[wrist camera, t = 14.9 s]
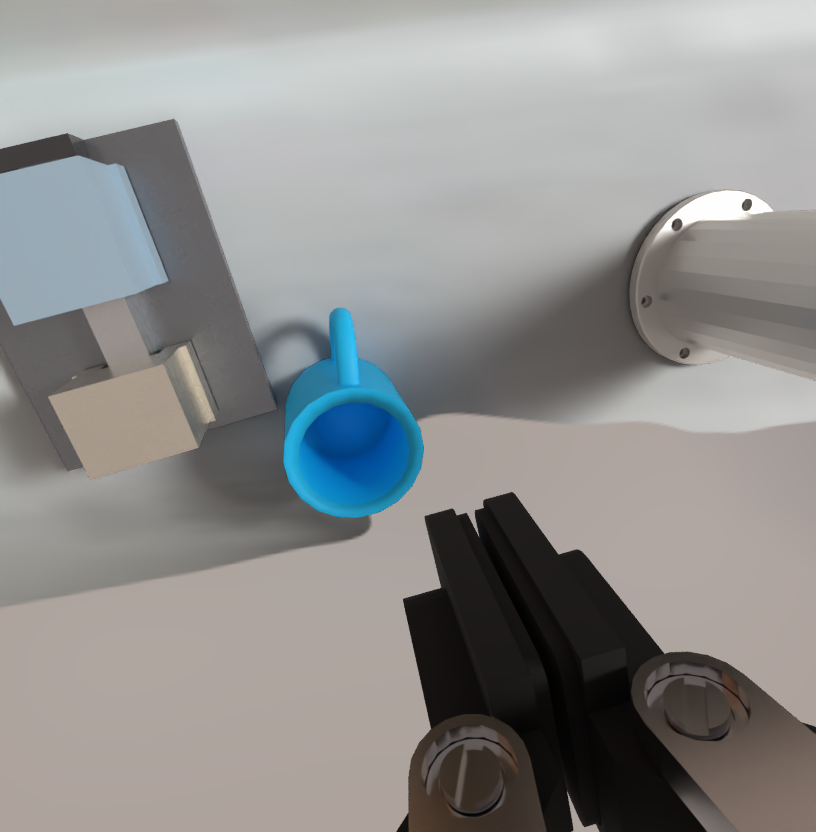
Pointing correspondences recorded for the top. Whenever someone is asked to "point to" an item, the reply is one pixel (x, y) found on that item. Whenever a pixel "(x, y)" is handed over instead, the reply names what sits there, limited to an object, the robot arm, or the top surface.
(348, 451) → the mug
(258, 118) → the top surface
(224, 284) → the rail plate
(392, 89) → the top surface
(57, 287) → the block
